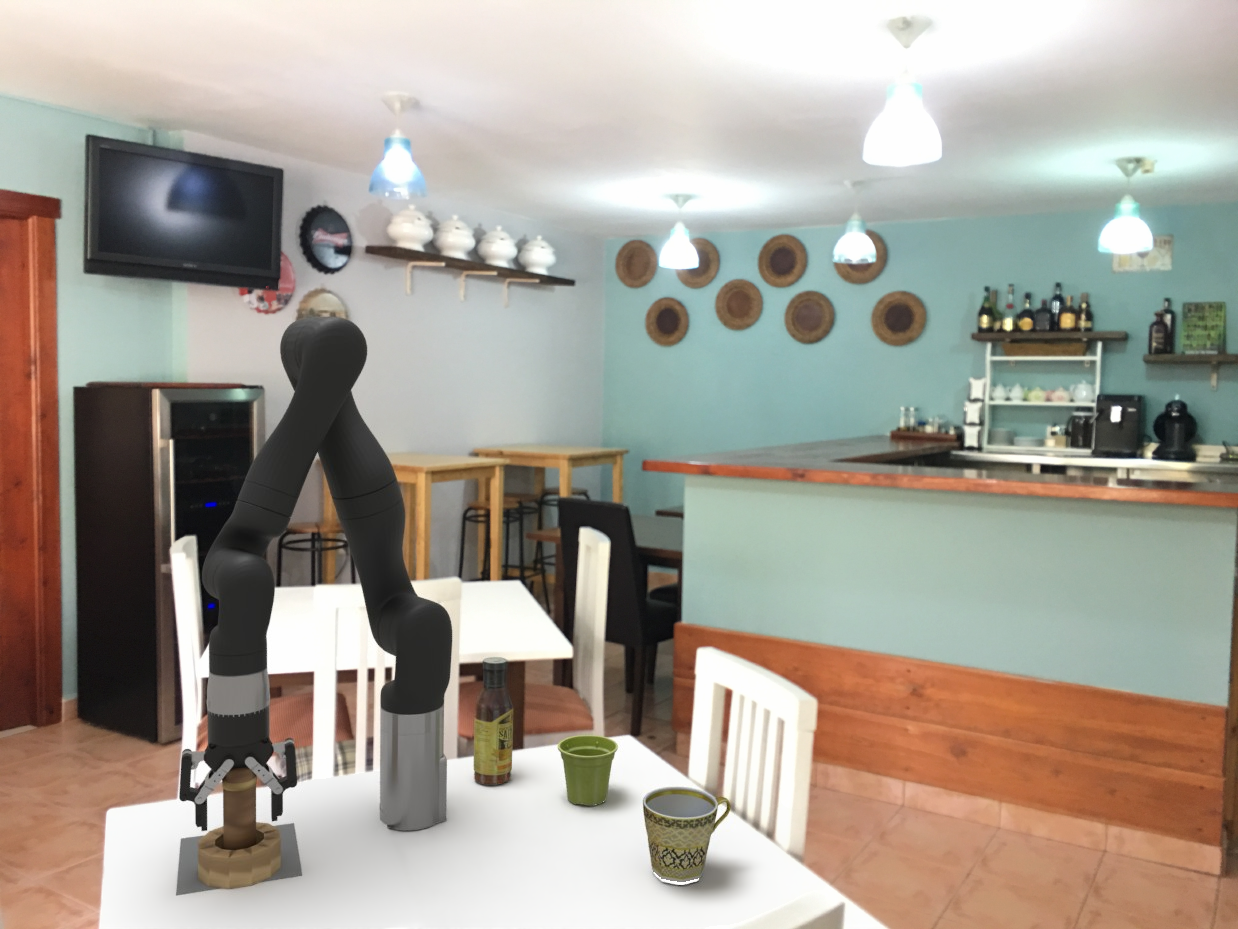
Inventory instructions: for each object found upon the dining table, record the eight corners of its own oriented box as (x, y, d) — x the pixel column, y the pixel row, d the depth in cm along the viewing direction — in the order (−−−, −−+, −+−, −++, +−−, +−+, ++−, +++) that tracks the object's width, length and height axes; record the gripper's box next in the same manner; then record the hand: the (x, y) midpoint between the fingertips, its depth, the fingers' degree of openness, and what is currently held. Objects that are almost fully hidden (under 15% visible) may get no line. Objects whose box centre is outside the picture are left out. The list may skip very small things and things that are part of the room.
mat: (294, 826, 143) (293, 823, 143) (302, 879, 129) (302, 875, 129) (180, 842, 138) (180, 838, 138) (176, 899, 123) (175, 895, 123)
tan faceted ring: (278, 845, 136) (278, 817, 136) (282, 880, 127) (282, 850, 127) (199, 857, 133) (199, 828, 132) (197, 893, 123) (197, 863, 123)
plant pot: (545, 795, 156) (546, 742, 156) (594, 782, 162) (595, 730, 161) (578, 817, 149) (579, 761, 148) (628, 802, 154) (630, 748, 154)
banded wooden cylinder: (256, 858, 133) (256, 757, 131) (257, 873, 129) (257, 770, 127) (222, 863, 131) (222, 761, 129) (222, 879, 127) (222, 774, 126)
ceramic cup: (664, 899, 126) (666, 824, 125) (627, 864, 135) (629, 793, 134) (748, 878, 132) (751, 805, 131) (708, 846, 141) (710, 778, 140)
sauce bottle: (504, 789, 158) (506, 667, 156) (467, 785, 159) (469, 664, 158) (517, 773, 165) (519, 656, 163) (481, 769, 166) (483, 653, 164)
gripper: (294, 689, 134) (294, 804, 135) (179, 699, 129) (181, 819, 130) (298, 706, 127) (298, 828, 129) (177, 718, 122) (178, 844, 123)
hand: (239, 823), depth 129 cm, fingers open, 8 cm apart
